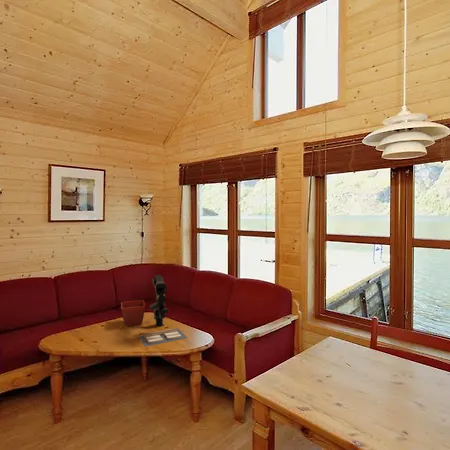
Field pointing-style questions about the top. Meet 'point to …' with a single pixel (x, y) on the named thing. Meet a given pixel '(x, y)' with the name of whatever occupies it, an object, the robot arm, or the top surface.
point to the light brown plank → (159, 333)
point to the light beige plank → (154, 339)
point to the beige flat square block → (172, 335)
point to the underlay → (163, 339)
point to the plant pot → (133, 312)
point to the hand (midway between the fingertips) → (161, 319)
